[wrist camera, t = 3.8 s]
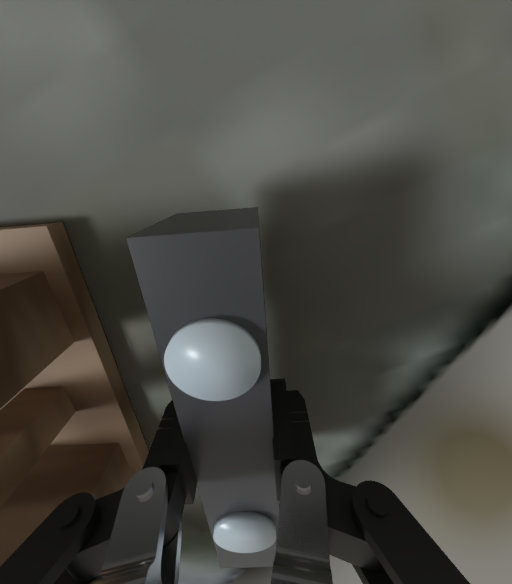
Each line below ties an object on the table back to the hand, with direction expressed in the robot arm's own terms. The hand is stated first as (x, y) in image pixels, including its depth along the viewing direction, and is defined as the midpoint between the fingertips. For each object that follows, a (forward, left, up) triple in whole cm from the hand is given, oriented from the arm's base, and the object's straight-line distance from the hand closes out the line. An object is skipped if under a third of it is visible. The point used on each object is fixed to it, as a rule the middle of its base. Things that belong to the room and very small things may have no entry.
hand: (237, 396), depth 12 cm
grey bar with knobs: (0, 0, -1) cm, 1 cm away
